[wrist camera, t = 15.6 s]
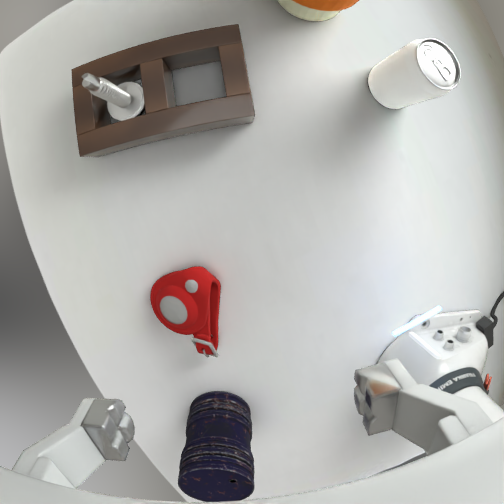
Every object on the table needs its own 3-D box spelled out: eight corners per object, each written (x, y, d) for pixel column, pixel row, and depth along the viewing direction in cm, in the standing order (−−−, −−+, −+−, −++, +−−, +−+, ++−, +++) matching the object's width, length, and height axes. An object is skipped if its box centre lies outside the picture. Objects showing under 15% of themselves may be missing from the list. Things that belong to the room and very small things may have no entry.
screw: (134, 130, 34) (106, 111, 33) (157, 97, 33) (129, 79, 32) (86, 114, 21) (51, 91, 20) (119, 66, 20) (83, 45, 19)
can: (385, 55, 32) (432, 24, 20) (417, 91, 33) (472, 73, 22) (357, 82, 33) (401, 53, 21) (391, 119, 34) (445, 106, 23)
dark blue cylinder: (217, 439, 47) (214, 509, 32) (176, 408, 44) (160, 480, 30) (263, 415, 45) (271, 489, 31) (223, 380, 43) (218, 458, 29)
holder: (89, 78, 31) (71, 69, 26) (238, 40, 31) (238, 23, 26) (97, 157, 34) (79, 156, 29) (253, 122, 34) (255, 115, 29)
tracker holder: (135, 309, 38) (167, 256, 34) (153, 295, 42) (186, 244, 38) (205, 371, 38) (250, 328, 34) (218, 352, 42) (261, 309, 38)
